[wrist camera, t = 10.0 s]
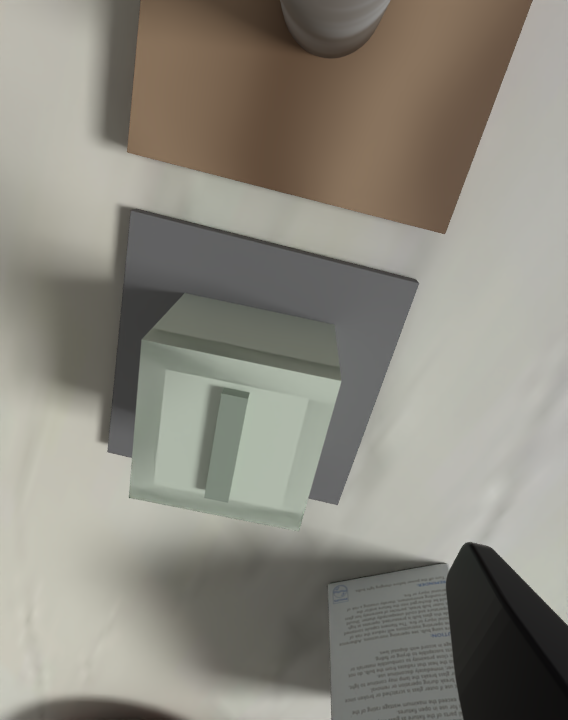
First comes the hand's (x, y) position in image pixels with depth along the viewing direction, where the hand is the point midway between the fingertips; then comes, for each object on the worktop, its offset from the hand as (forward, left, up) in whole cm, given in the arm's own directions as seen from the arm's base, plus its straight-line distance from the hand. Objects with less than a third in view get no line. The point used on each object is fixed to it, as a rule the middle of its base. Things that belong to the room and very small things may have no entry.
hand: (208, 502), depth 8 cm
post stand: (0, -10, -12) cm, 15 cm away
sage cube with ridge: (0, +3, -11) cm, 12 cm away
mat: (0, +3, -12) cm, 12 cm away
